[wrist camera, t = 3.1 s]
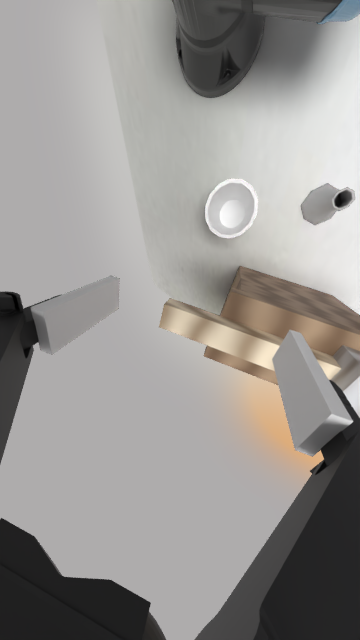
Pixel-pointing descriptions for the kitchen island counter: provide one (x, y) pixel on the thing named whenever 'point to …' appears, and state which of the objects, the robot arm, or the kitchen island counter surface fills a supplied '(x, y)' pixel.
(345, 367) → the mallet
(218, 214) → the foam cup
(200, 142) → the kitchen island counter surface
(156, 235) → the kitchen island counter surface
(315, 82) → the kitchen island counter surface
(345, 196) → the flask
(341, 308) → the walnut stand
